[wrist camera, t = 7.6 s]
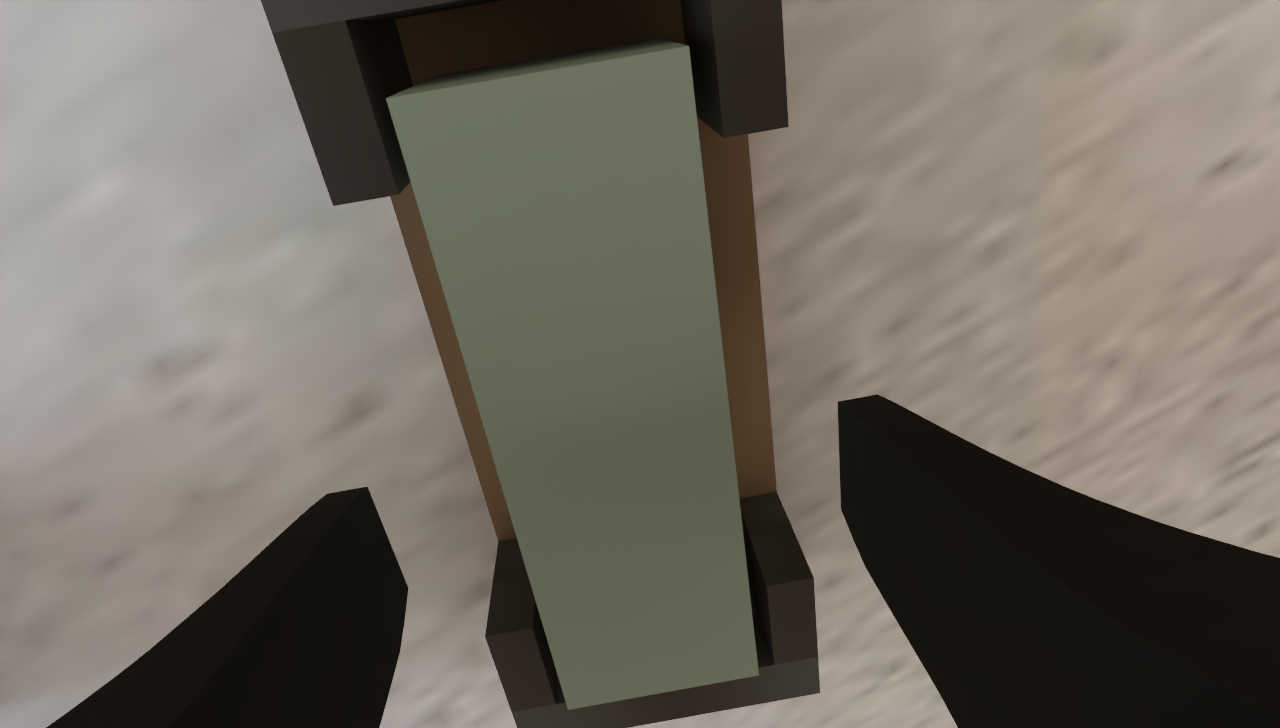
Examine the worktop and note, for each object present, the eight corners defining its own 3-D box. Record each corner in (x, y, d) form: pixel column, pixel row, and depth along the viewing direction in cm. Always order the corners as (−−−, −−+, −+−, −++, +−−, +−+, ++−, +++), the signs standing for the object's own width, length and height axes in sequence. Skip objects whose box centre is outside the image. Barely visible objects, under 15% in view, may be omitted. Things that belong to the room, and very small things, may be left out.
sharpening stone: (569, 572, 18) (567, 710, 15) (438, 75, 13) (385, 97, 9) (722, 545, 18) (759, 675, 15) (656, 38, 13) (689, 45, 9)
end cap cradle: (532, 615, 20) (523, 745, 16) (330, -46, 13) (236, -70, 9) (775, 572, 20) (819, 692, 16) (716, -112, 13) (772, -161, 9)
